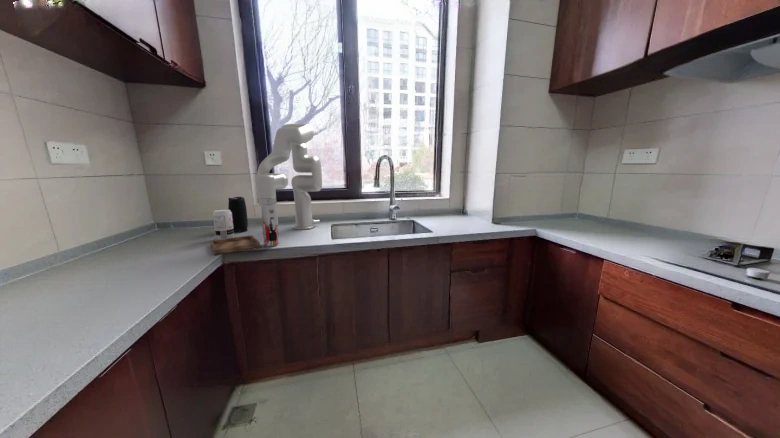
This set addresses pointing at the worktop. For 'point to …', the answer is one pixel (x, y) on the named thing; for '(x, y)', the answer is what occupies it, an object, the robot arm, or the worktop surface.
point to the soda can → (266, 236)
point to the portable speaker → (238, 213)
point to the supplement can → (223, 224)
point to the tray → (234, 244)
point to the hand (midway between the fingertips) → (270, 238)
